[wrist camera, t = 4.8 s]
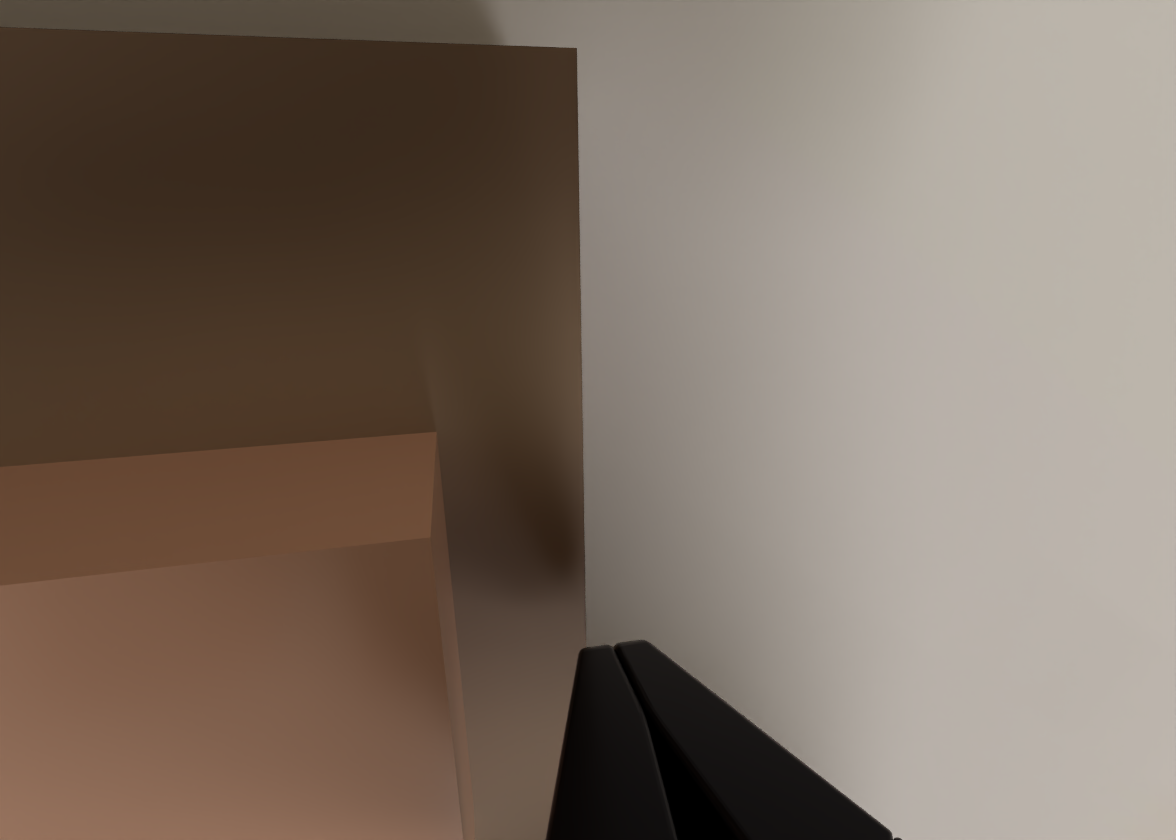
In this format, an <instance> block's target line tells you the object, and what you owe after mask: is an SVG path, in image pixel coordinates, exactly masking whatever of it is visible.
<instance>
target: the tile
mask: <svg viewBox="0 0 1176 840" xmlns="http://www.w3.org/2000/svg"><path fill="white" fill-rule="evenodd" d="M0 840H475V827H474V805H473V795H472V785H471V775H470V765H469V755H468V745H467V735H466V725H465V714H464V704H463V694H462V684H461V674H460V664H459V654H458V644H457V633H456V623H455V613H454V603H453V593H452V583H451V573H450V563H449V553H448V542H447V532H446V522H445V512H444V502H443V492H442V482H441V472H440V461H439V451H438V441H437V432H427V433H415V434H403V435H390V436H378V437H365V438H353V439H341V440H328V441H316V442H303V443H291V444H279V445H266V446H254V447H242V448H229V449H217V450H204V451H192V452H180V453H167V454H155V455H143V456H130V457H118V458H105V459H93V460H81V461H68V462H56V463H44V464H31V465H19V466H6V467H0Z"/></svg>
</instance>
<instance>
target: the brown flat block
mask: <svg viewBox="0 0 1176 840" xmlns="http://www.w3.org/2000/svg"><path fill="white" fill-rule="evenodd" d="M427 432H437V441H438V451H439V461H440V472H441V482H442V492H443V502H444V512H445V522H446V532H447V542H448V553H449V563H450V573H451V583H452V593H453V603H454V613H455V623H456V633H457V644H458V654H459V664H460V674H461V684H462V694H463V704H464V714H465V725H466V735H467V745H468V755H469V765H470V775H471V785H472V795H473V805H474V827H475V840H545V839H546V833H547V828H548V822H549V817H550V811H551V805H552V800H553V794H554V788H555V783H556V777H557V771H558V766H559V760H560V755H561V749H562V743H563V738H564V732H565V726H566V721H567V715H568V709H569V704H570V698H571V693H572V687H573V681H574V676H575V670H576V664H577V659H578V654H579V651H580V650H581V649H583V648H586V610H585V546H584V482H583V418H582V354H581V289H580V225H579V161H578V97H577V48H558V47H531V46H503V45H475V44H448V43H420V42H393V41H365V40H338V39H310V38H283V37H255V36H228V35H200V34H173V33H145V32H117V31H90V30H62V29H35V28H7V27H0V467H6V466H19V465H31V464H44V463H56V462H68V461H81V460H93V459H105V458H118V457H130V456H143V455H155V454H167V453H180V452H192V451H204V450H217V449H229V448H242V447H254V446H266V445H279V444H291V443H303V442H316V441H328V440H341V439H353V438H365V437H378V436H390V435H403V434H415V433H427Z"/></svg>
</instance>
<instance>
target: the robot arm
mask: <svg viewBox="0 0 1176 840" xmlns="http://www.w3.org/2000/svg"><path fill="white" fill-rule="evenodd" d="M545 840H902V839H901V838H898V837H897V838H894V839H893V837H892V833H891V831H890V830H889V829H887V828H886V827H885V826H884V825H882V824H881V823H880V822H878V821H877V820H876V819H875V818H873V817H872V816H871V815H869V814H868V813H867V812H866V811H864V810H863V809H862V808H861V807H859V806H858V805H857V804H855V803H854V802H853V801H852V800H850V799H849V798H848V797H846V796H845V795H844V794H843V793H841V792H840V791H839V790H838V789H836V788H835V787H834V786H832V785H831V784H830V783H829V782H827V781H826V780H825V779H823V778H822V777H821V776H820V775H818V774H817V773H816V772H814V771H813V770H812V769H811V768H809V767H808V766H807V765H806V764H804V763H803V762H802V761H800V760H799V759H798V758H797V757H795V756H794V755H793V754H791V753H790V752H789V751H788V750H786V749H785V748H784V747H783V746H781V745H780V744H779V743H777V742H776V741H775V740H774V739H772V738H771V737H770V736H768V735H767V734H766V733H765V732H763V731H762V730H761V729H759V728H758V727H757V726H756V725H754V724H753V723H752V722H751V721H749V720H748V719H747V718H745V717H744V716H743V715H742V714H740V713H739V712H738V711H736V710H735V709H734V708H733V707H731V706H730V705H729V704H727V703H726V702H725V701H724V700H722V699H721V698H720V697H719V696H717V695H716V694H715V693H713V692H712V691H711V690H710V689H708V688H707V687H706V686H704V685H703V684H702V683H701V682H699V681H698V680H697V679H696V678H694V677H693V676H692V675H690V674H689V673H688V672H687V671H685V670H684V669H683V668H681V667H680V666H679V665H678V664H676V663H675V662H674V661H672V660H671V659H670V658H669V657H667V656H666V655H665V654H664V653H662V652H661V651H660V650H658V649H657V648H656V647H655V646H653V645H652V644H651V643H649V642H648V641H645V640H636V641H629V642H622V643H617V644H616V645H615V646H614V647H611V646H609V645H601V646H594V647H587V648H583V649H581V650H580V651H579V654H578V659H577V664H576V670H575V676H574V681H573V687H572V693H571V698H570V704H569V709H568V715H567V721H566V726H565V732H564V738H563V743H562V749H561V755H560V760H559V766H558V771H557V777H556V783H555V788H554V794H553V800H552V805H551V811H550V817H549V822H548V828H547V833H546V839H545Z"/></svg>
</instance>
